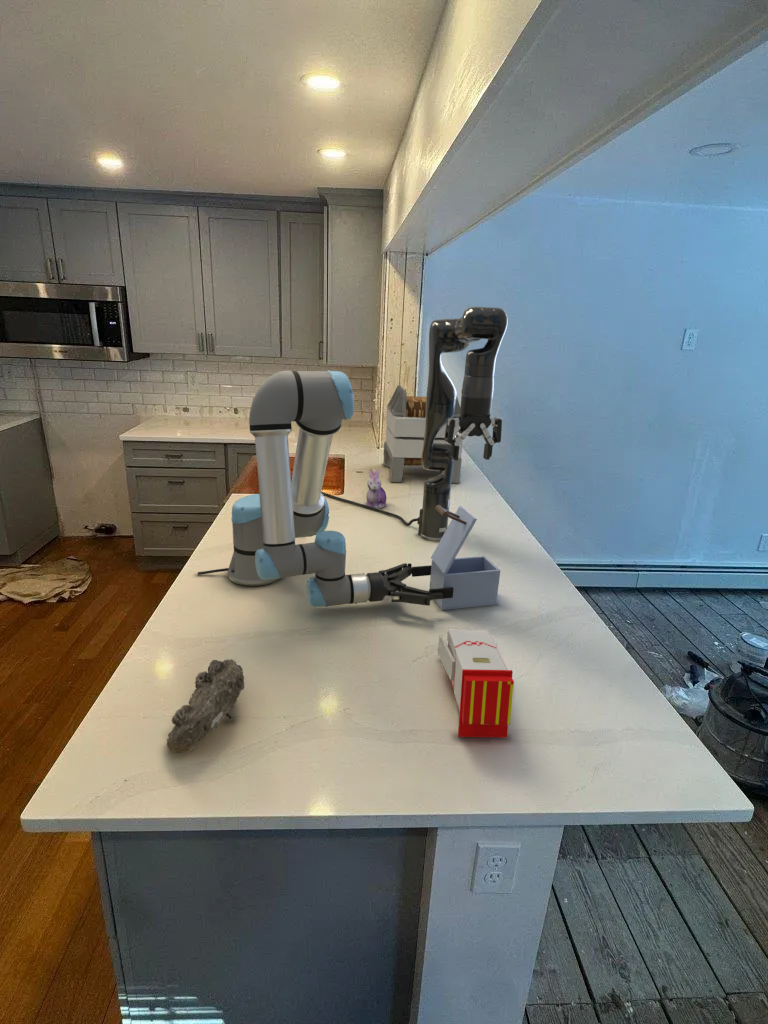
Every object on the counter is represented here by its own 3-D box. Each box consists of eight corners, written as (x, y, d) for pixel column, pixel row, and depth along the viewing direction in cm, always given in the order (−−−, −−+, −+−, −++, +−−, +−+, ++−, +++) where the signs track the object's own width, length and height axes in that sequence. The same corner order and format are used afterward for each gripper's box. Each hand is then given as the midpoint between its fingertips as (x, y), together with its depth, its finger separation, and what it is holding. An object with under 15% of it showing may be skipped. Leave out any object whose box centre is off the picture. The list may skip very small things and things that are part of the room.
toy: (488, 613, 130) (523, 677, 101) (484, 667, 133) (517, 744, 104) (435, 612, 130) (455, 676, 101) (432, 666, 133) (451, 743, 103)
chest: (481, 588, 163) (484, 555, 160) (496, 604, 155) (500, 570, 151) (429, 593, 159) (431, 559, 156) (441, 610, 150) (444, 575, 147)
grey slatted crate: (382, 463, 289) (386, 382, 275) (445, 464, 293) (451, 384, 279) (390, 482, 257) (394, 392, 243) (460, 483, 261) (468, 394, 247)
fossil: (192, 660, 117) (244, 628, 112) (224, 691, 120) (276, 661, 115) (142, 746, 98) (202, 712, 93) (182, 779, 101) (242, 748, 96)
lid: (462, 506, 153) (437, 495, 149) (477, 519, 144) (451, 507, 141) (433, 558, 156) (408, 548, 152) (446, 574, 147) (420, 563, 144)
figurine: (370, 511, 220) (372, 474, 215) (359, 503, 229) (360, 467, 224) (392, 508, 224) (394, 471, 219) (380, 500, 233) (381, 465, 228)
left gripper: (355, 579, 160) (426, 573, 166) (379, 625, 138) (459, 616, 143) (356, 555, 157) (428, 549, 163) (380, 597, 135) (462, 589, 141)
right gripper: (455, 396, 132) (450, 464, 138) (510, 396, 136) (503, 462, 141) (444, 392, 139) (439, 456, 144) (497, 392, 143) (490, 455, 148)
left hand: (443, 580), depth 153 cm, fingers open, 13 cm apart
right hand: (470, 459), depth 143 cm, fingers open, 8 cm apart
